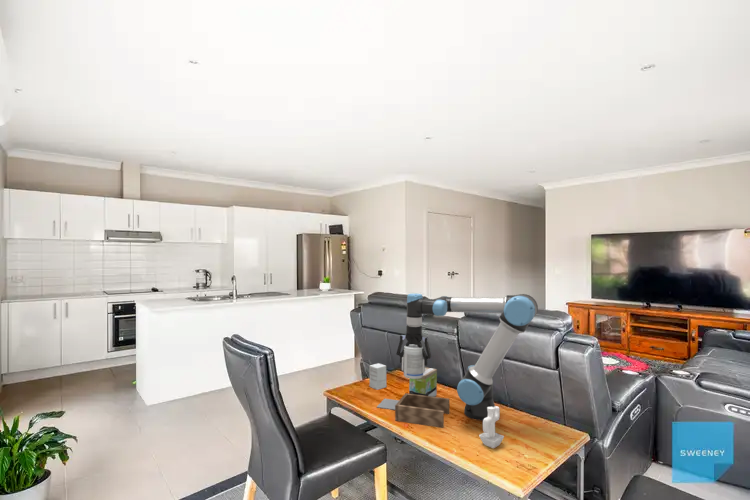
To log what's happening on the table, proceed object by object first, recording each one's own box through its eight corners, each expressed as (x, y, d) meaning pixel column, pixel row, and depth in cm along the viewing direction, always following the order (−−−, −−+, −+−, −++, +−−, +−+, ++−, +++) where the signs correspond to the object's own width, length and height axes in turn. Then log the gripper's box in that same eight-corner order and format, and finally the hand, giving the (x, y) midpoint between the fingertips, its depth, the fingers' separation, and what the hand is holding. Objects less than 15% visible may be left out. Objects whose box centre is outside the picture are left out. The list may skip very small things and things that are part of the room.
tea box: (426, 404, 197) (425, 375, 198) (408, 400, 203) (408, 372, 203) (437, 395, 210) (437, 368, 210) (420, 392, 215) (420, 365, 216)
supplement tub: (427, 377, 186) (427, 347, 186) (412, 381, 180) (412, 349, 180) (414, 372, 194) (414, 343, 194) (399, 375, 188) (400, 345, 188)
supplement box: (378, 384, 229) (378, 362, 229) (386, 387, 223) (386, 365, 224) (369, 386, 224) (369, 365, 225) (377, 390, 219) (377, 367, 219)
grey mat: (406, 402, 200) (406, 401, 200) (399, 410, 189) (399, 410, 189) (384, 399, 205) (384, 398, 205) (376, 407, 193) (376, 406, 193)
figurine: (477, 445, 154) (476, 407, 155) (490, 437, 160) (490, 401, 161) (492, 452, 149) (492, 413, 149) (506, 444, 155) (505, 407, 155)
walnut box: (449, 413, 186) (449, 398, 186) (443, 427, 170) (442, 412, 170) (405, 407, 194) (405, 393, 194) (395, 420, 178) (395, 405, 178)
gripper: (438, 325, 187) (437, 371, 187) (394, 322, 194) (393, 366, 194) (435, 328, 180) (434, 376, 180) (390, 324, 187) (389, 370, 187)
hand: (413, 371), depth 187 cm, fingers closed on supplement tub, 10 cm apart
